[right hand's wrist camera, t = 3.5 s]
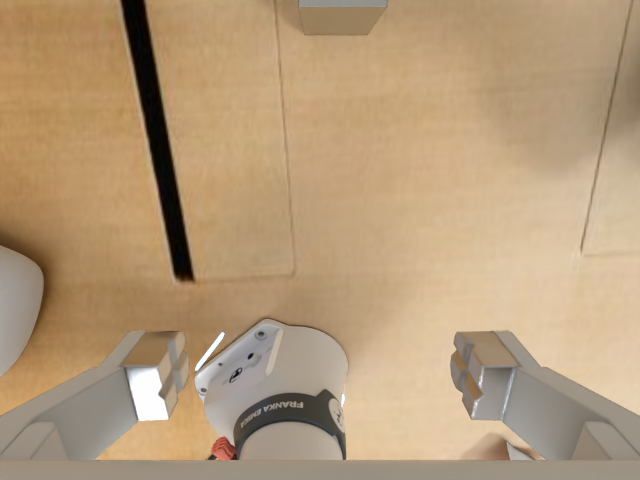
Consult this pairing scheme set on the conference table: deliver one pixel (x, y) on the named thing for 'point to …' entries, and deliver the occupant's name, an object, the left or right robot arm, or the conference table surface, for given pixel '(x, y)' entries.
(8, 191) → the conference table surface
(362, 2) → the box
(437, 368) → the conference table surface
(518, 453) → the fish
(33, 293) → the grey slotted rounded block
